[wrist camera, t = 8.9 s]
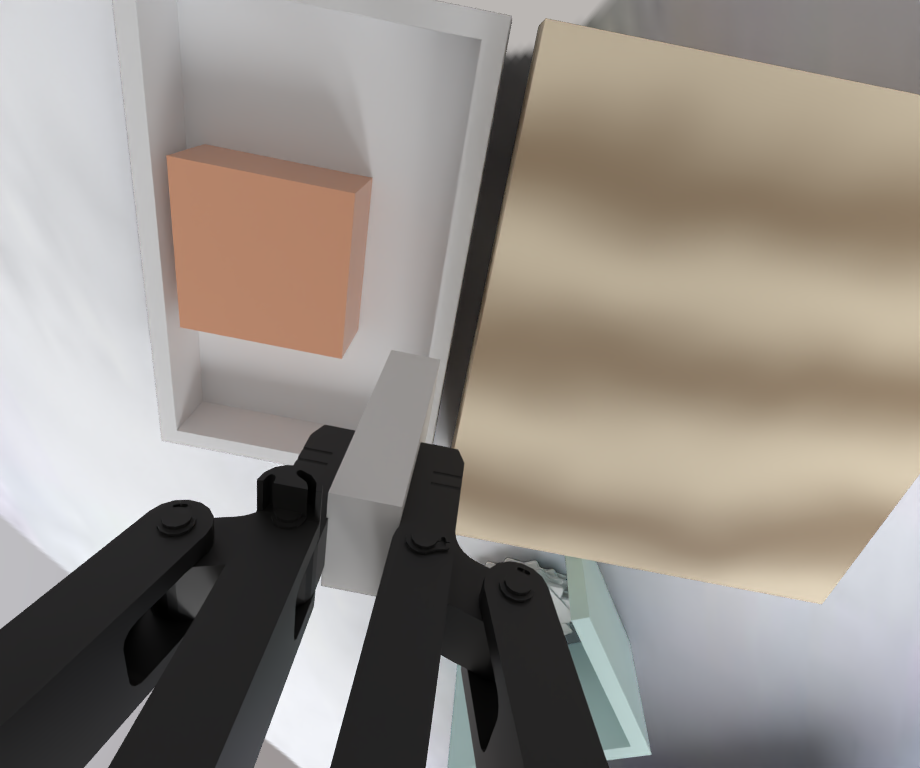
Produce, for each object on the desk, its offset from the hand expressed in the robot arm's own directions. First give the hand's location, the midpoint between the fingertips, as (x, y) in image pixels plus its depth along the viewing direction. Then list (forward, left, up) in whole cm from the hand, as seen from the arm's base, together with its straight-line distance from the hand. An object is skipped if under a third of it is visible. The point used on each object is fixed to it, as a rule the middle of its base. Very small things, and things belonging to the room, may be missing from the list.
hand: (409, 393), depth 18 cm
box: (0, +6, -10) cm, 12 cm away
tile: (0, +7, -6) cm, 10 cm away
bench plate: (0, -11, -10) cm, 15 cm away
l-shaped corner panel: (-21, -8, -11) cm, 25 cm away
